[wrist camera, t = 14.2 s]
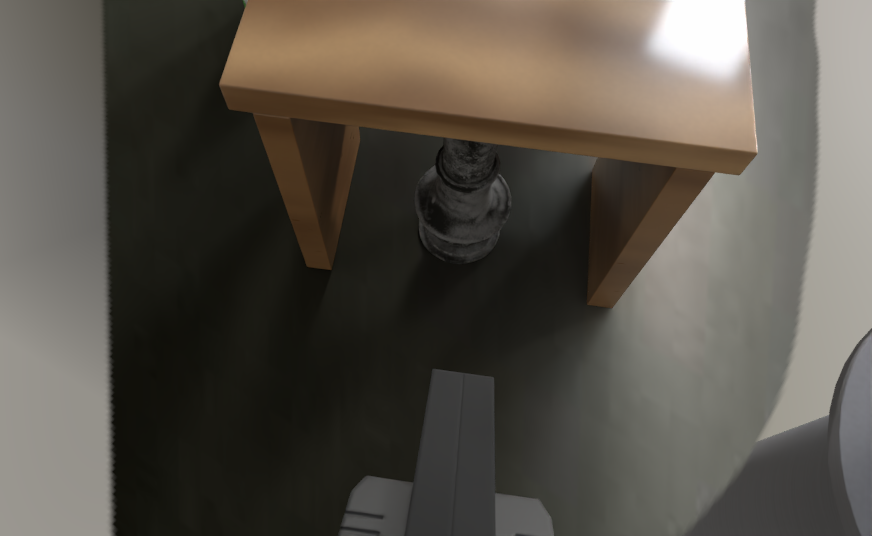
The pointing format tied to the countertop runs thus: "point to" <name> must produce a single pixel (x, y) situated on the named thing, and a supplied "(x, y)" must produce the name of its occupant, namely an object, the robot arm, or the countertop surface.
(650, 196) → the desk
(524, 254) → the countertop surface
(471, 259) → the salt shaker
